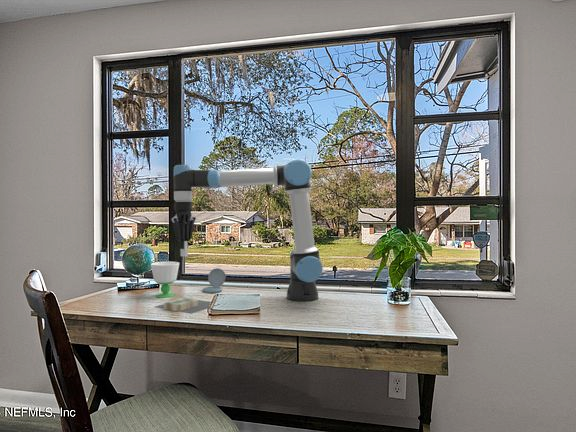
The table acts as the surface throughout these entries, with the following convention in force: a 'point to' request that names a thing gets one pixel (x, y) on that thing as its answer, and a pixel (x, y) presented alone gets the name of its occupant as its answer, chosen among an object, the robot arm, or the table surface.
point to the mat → (201, 306)
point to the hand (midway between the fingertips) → (184, 256)
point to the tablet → (181, 304)
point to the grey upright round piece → (215, 281)
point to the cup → (165, 276)
